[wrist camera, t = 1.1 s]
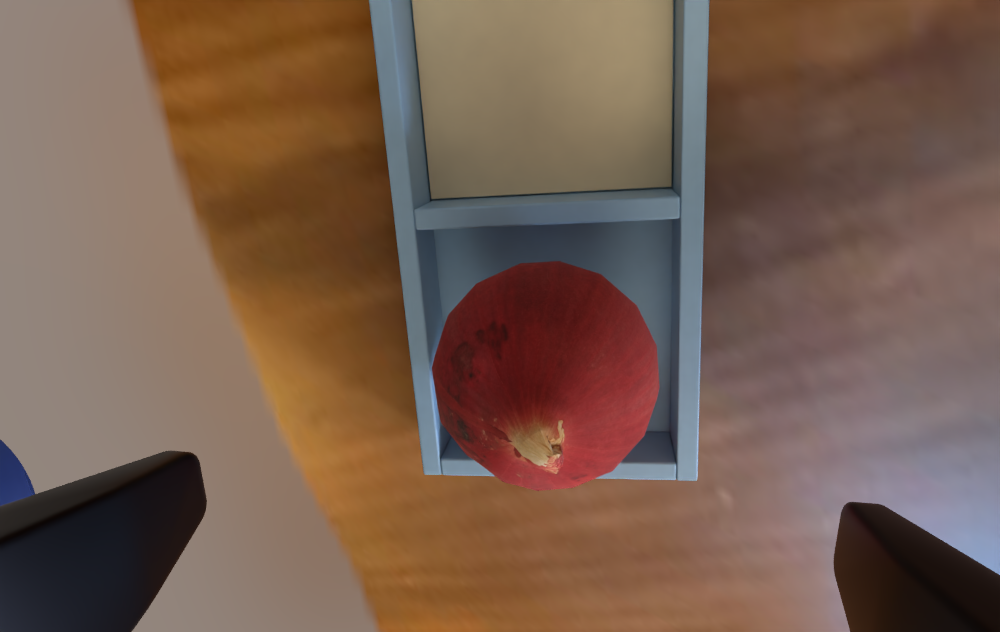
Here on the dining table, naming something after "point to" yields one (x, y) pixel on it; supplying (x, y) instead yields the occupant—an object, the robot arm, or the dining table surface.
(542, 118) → the divided blue tray
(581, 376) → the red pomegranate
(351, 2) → the dining table surface
